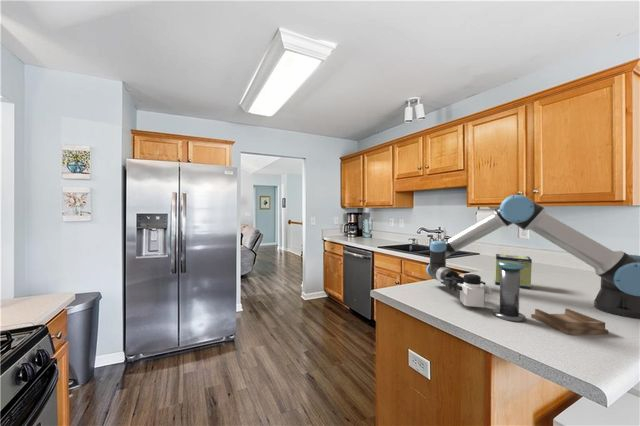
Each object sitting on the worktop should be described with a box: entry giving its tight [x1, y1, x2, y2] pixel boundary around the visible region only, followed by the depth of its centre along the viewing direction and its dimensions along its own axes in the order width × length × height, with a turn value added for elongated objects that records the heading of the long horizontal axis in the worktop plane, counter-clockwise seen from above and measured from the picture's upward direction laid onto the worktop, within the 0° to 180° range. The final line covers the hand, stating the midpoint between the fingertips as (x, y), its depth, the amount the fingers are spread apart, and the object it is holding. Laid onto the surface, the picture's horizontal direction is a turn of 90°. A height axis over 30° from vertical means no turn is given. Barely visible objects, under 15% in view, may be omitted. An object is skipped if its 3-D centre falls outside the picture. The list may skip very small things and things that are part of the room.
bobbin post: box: [492, 261, 526, 323], centre depth 101 cm, size 10×10×20 cm
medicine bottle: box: [459, 273, 486, 308], centre depth 111 cm, size 7×7×12 cm
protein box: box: [494, 253, 533, 290], centre depth 146 cm, size 10×16×16 cm
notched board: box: [530, 308, 609, 336], centre depth 95 cm, size 14×14×4 cm
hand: (479, 291), depth 106 cm, fingers closed on medicine bottle, 9 cm apart
